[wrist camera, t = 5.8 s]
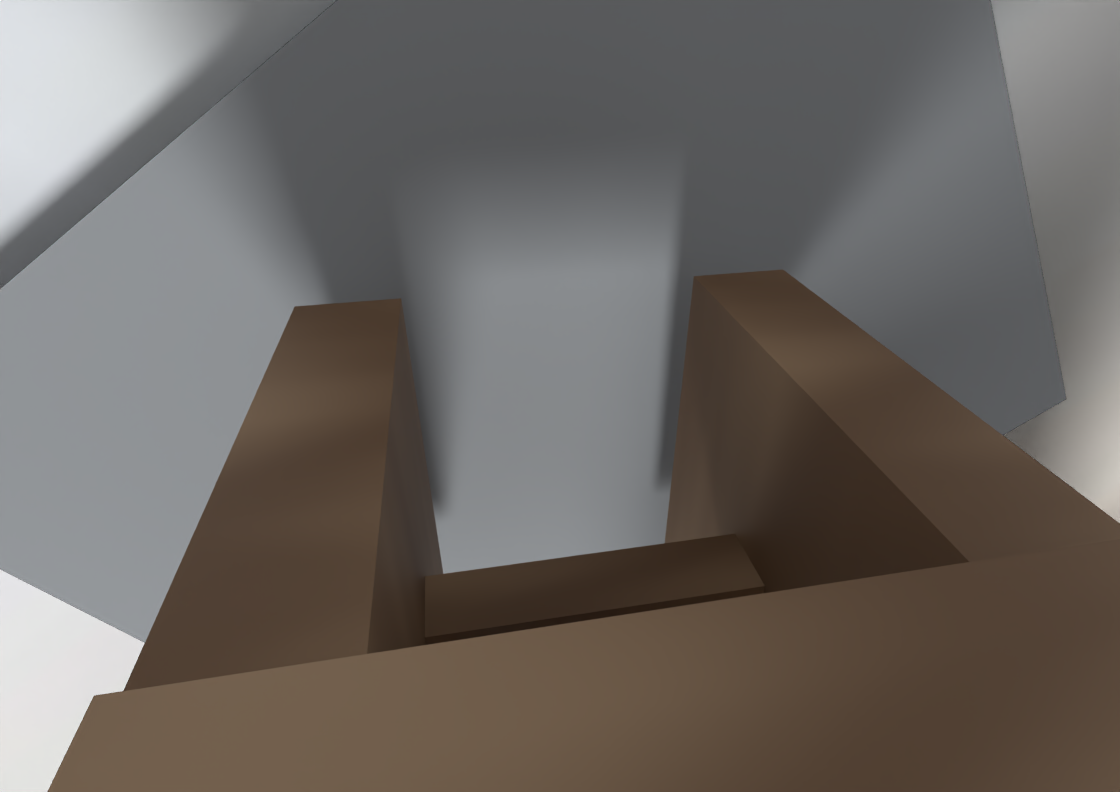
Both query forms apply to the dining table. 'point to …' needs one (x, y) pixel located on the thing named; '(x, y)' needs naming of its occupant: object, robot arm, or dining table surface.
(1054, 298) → the dining table surface
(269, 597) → the stool
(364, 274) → the mat
